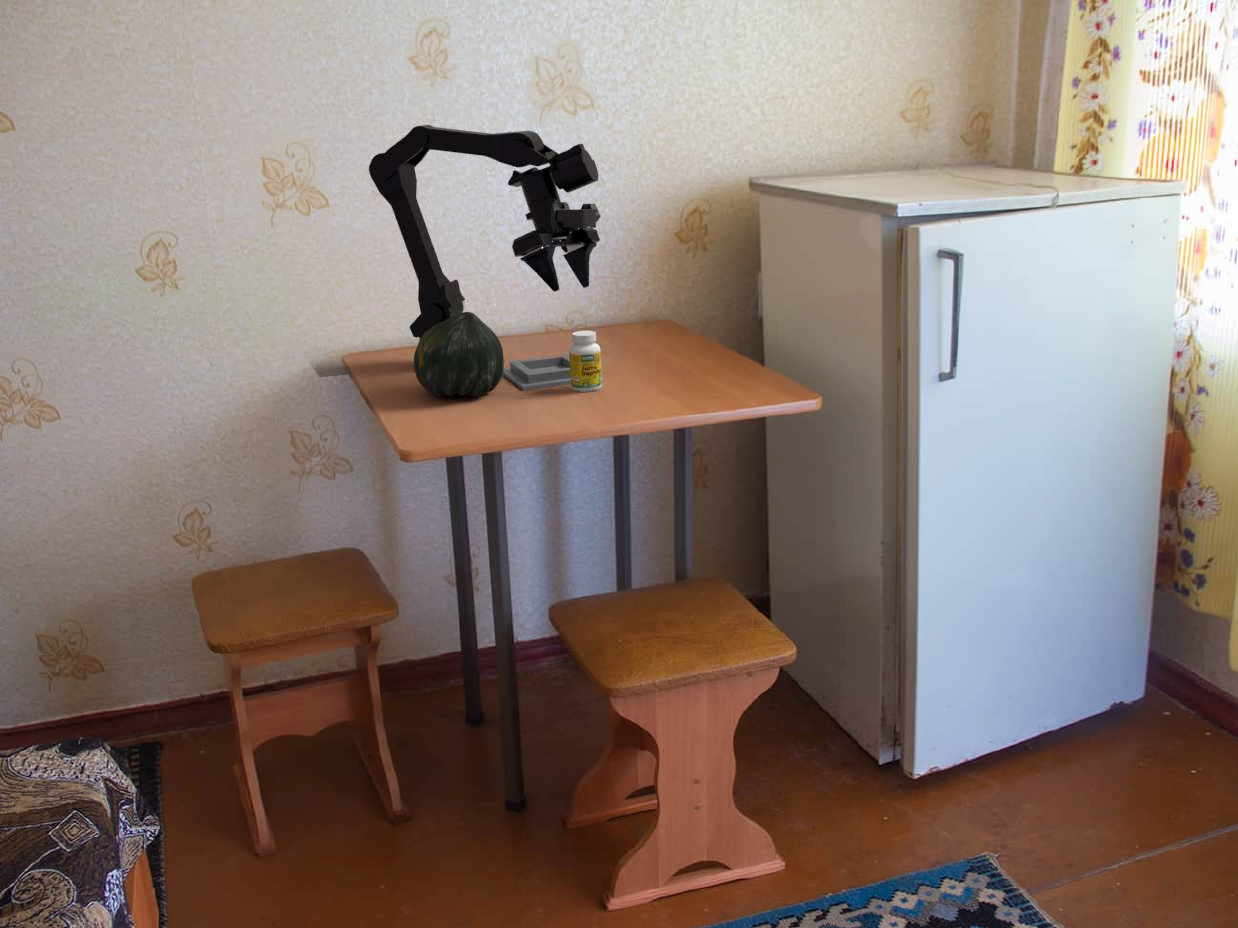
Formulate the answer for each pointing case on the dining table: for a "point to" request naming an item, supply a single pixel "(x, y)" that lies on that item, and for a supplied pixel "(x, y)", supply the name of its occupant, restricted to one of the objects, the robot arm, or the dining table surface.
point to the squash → (459, 357)
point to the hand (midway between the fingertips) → (571, 289)
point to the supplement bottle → (585, 362)
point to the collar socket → (539, 372)
